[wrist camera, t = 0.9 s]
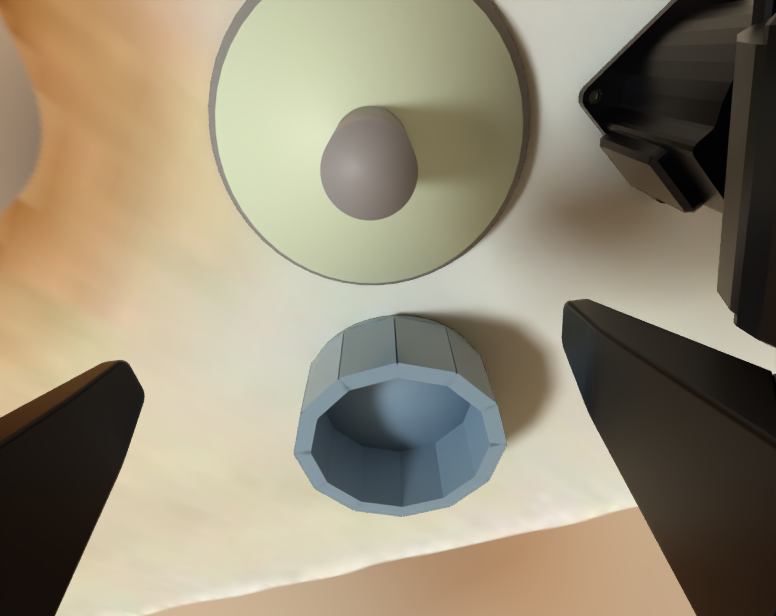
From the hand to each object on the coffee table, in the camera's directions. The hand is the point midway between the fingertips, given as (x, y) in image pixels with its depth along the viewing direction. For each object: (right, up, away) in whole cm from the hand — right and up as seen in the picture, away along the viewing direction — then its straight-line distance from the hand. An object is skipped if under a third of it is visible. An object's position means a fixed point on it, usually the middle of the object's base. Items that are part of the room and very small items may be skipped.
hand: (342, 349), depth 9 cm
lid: (0, +8, +9) cm, 12 cm away
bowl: (+1, -4, +16) cm, 17 cm away
